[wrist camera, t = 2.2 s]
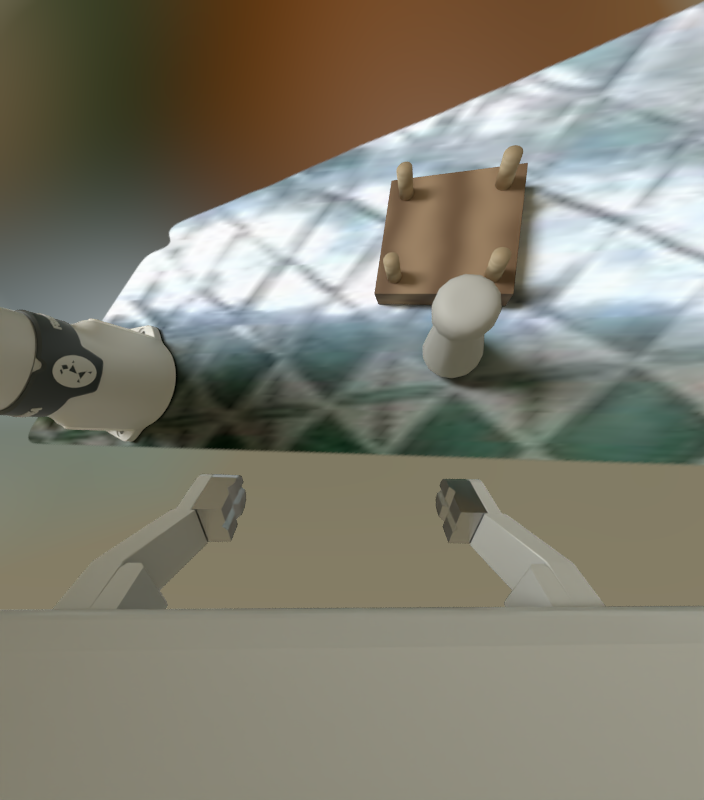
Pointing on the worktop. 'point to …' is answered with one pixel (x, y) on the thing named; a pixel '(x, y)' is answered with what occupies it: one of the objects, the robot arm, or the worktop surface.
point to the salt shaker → (461, 324)
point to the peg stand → (451, 230)
